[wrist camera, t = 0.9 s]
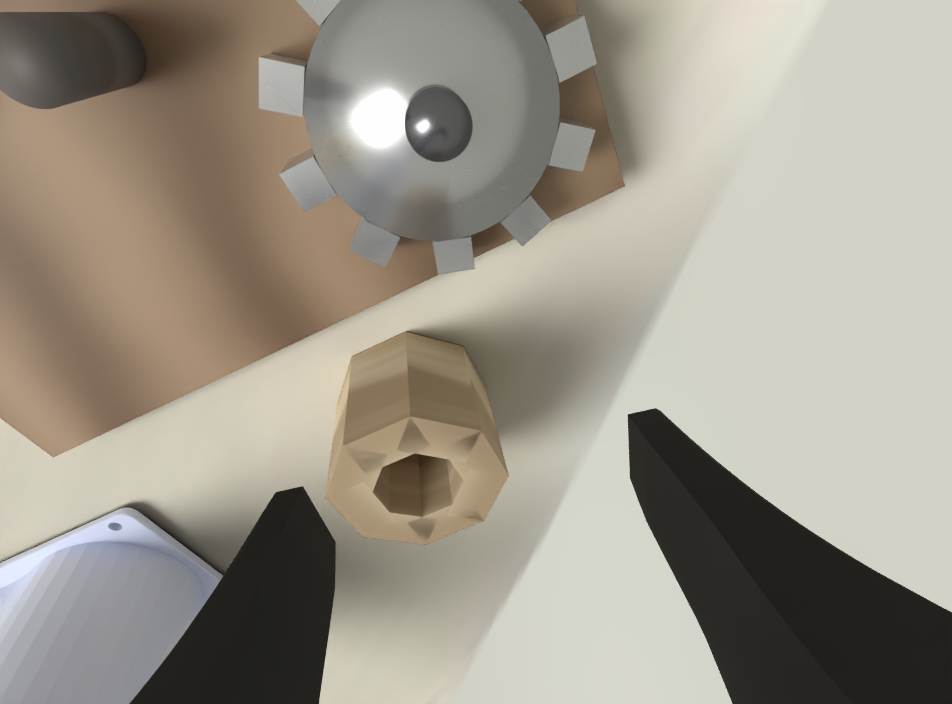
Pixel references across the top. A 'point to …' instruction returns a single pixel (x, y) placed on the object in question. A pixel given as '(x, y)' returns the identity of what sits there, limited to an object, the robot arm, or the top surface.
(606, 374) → the top surface
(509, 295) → the top surface
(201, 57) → the gear board
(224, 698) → the robot arm
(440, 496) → the octagonal wooden tube
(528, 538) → the top surface
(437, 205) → the gear
